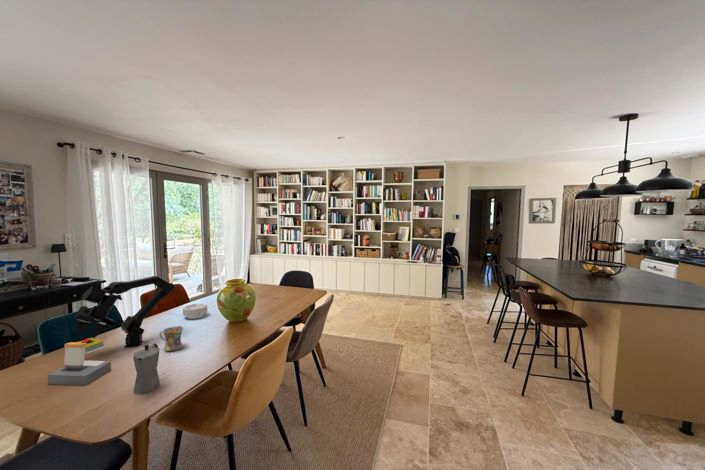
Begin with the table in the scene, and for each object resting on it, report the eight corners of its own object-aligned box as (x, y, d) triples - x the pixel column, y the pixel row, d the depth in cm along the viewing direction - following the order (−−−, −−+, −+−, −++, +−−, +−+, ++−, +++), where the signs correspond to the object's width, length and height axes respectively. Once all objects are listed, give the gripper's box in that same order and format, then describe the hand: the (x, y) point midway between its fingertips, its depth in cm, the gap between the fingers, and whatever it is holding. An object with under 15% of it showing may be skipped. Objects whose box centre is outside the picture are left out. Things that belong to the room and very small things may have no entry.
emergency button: (88, 335, 156) (107, 339, 152) (88, 342, 156) (107, 347, 152) (67, 341, 147) (86, 346, 143) (67, 350, 148) (86, 354, 143)
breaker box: (76, 368, 129) (76, 359, 129) (110, 370, 129) (110, 360, 128) (47, 383, 117) (47, 373, 117) (85, 385, 117) (85, 375, 116)
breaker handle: (68, 366, 123) (70, 342, 123) (84, 366, 123) (86, 342, 123) (62, 368, 120) (64, 344, 121) (79, 369, 120) (81, 344, 121)
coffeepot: (152, 395, 111) (152, 351, 110) (124, 398, 109) (124, 353, 108) (168, 374, 126) (168, 335, 125) (144, 377, 124) (144, 337, 123)
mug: (187, 345, 156) (187, 326, 155) (176, 352, 146) (176, 333, 146) (165, 344, 156) (165, 325, 155) (153, 352, 147) (153, 332, 146)
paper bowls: (193, 312, 209) (193, 302, 208) (211, 314, 207) (211, 303, 206) (177, 319, 194) (177, 308, 193) (197, 321, 192) (197, 310, 191)
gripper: (103, 304, 151) (84, 334, 145) (75, 297, 134) (52, 330, 128) (123, 310, 151) (105, 340, 144) (97, 304, 134) (75, 337, 127)
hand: (85, 337), depth 136 cm, fingers open, 9 cm apart
